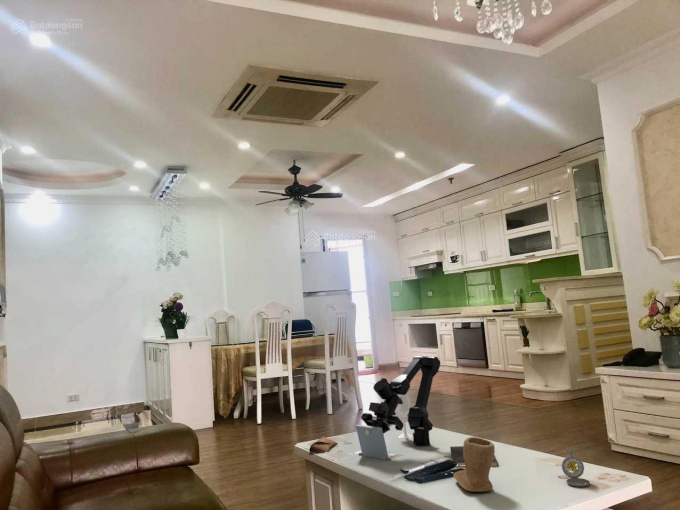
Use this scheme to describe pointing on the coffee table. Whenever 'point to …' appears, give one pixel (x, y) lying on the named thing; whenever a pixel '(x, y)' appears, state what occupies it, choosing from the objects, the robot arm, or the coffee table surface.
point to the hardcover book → (458, 456)
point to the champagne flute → (404, 413)
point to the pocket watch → (570, 464)
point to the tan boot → (476, 465)
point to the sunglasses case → (322, 445)
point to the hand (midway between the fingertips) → (372, 439)
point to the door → (372, 441)
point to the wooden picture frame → (390, 455)
